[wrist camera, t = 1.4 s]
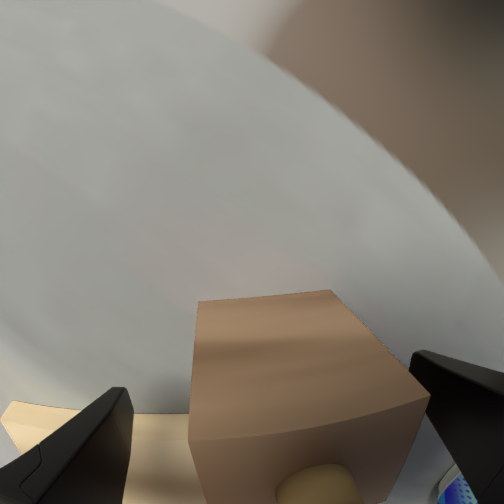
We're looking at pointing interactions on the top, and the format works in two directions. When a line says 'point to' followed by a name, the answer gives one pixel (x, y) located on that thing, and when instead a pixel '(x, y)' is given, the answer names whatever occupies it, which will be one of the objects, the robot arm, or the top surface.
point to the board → (142, 451)
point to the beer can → (455, 489)
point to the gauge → (297, 403)
